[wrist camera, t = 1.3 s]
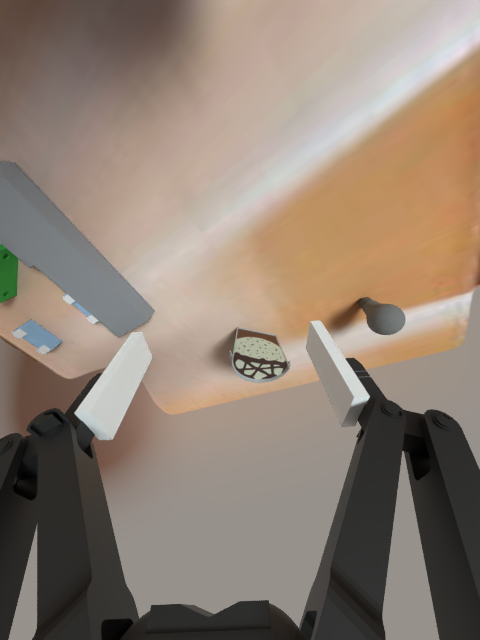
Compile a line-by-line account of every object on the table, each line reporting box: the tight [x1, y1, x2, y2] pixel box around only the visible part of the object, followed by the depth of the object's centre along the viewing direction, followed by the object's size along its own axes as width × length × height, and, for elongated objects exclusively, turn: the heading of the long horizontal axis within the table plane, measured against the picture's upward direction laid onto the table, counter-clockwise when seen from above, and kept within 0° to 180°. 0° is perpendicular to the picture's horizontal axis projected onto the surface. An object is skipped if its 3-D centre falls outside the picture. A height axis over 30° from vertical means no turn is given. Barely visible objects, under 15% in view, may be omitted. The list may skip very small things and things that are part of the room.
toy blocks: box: [0, 161, 155, 355], centre depth 36 cm, size 28×26×4 cm
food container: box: [229, 327, 290, 383], centre depth 42 cm, size 12×6×10 cm, turn 75°
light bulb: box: [359, 297, 405, 335], centre depth 37 cm, size 6×6×10 cm
